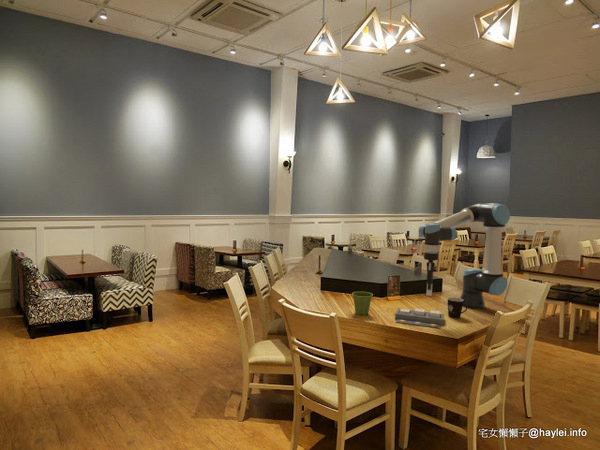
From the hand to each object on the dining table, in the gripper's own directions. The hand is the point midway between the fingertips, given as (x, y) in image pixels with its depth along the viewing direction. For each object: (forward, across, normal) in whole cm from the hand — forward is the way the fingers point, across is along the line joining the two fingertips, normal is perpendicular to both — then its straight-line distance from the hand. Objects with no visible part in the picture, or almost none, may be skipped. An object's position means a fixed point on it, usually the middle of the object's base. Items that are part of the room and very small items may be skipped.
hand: (429, 295), depth 235 cm
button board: (+14, 0, -4) cm, 14 cm away
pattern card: (+14, +10, -4) cm, 18 cm away
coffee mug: (+14, -13, +14) cm, 24 cm away
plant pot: (+14, +5, -36) cm, 39 cm away
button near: (+11, 0, +4) cm, 12 cm away
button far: (+12, +1, -12) cm, 18 cm away
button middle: (+11, 0, -4) cm, 12 cm away
